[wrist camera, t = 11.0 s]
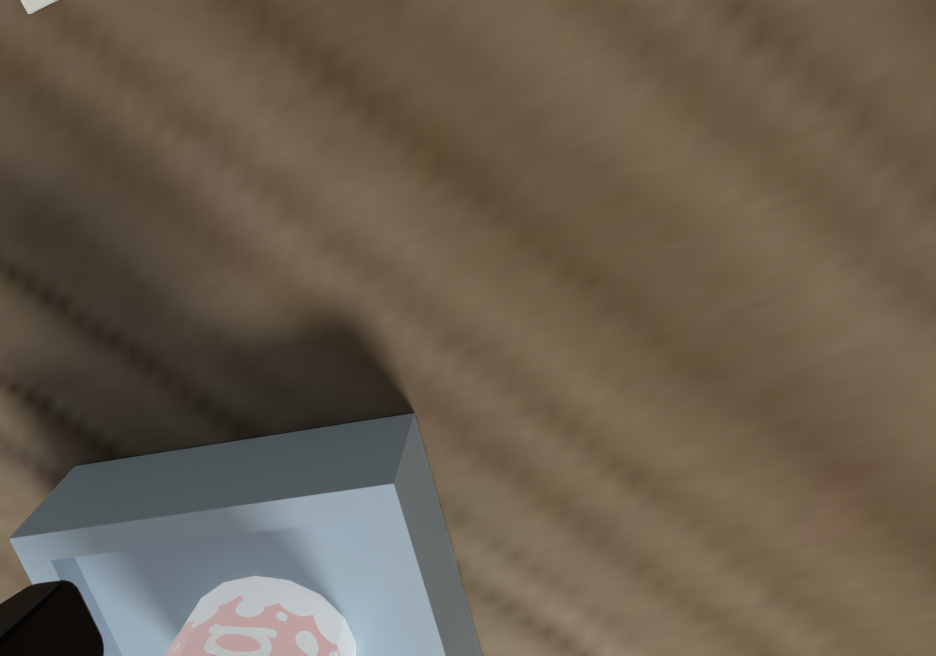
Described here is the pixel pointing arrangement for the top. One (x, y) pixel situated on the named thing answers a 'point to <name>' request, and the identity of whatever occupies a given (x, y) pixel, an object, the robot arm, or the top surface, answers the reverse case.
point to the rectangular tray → (260, 536)
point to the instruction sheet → (35, 4)
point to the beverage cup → (263, 622)
